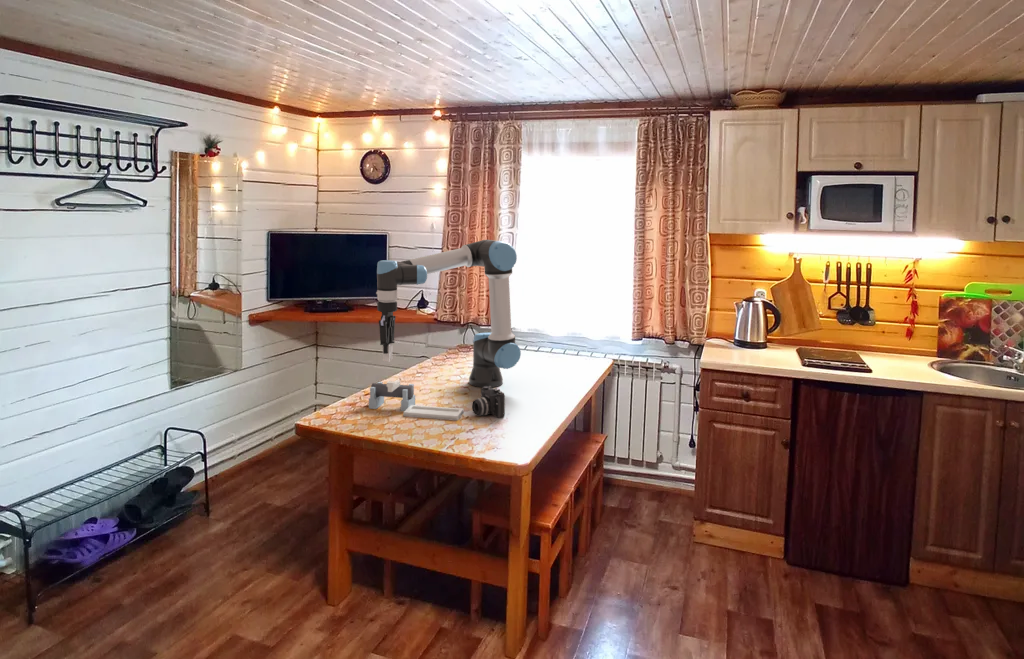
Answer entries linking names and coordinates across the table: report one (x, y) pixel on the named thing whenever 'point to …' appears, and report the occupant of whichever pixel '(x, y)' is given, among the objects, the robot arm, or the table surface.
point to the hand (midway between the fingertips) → (387, 360)
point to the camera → (490, 402)
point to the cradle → (379, 400)
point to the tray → (433, 412)
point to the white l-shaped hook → (393, 385)
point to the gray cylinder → (383, 391)
